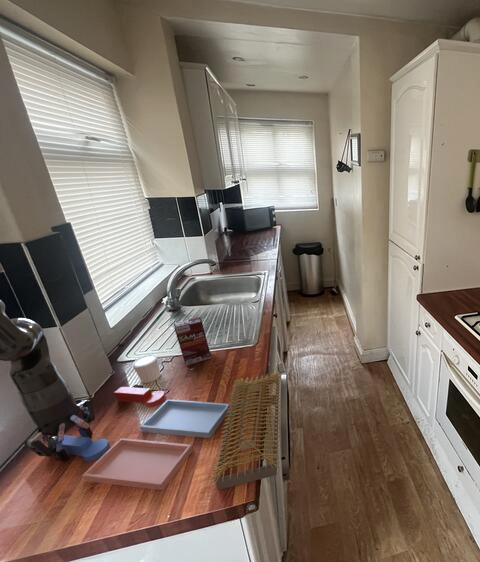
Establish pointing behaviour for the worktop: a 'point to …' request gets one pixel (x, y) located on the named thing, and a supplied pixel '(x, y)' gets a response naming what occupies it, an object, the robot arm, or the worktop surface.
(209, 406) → the blue tray
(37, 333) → the robot arm
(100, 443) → the blue spoon
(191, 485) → the worktop surface
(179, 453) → the rose tray
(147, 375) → the white short cylinder
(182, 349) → the supplement box
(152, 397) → the red spoon
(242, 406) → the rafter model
